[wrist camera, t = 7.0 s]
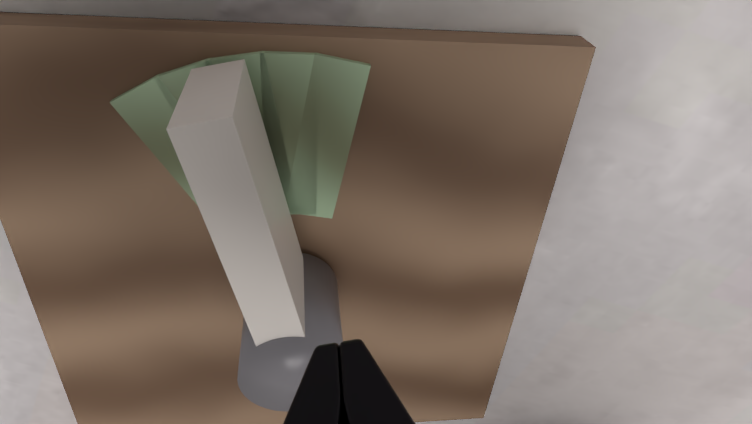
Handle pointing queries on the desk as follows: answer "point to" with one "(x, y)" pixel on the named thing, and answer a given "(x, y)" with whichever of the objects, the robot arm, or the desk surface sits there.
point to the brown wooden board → (302, 192)
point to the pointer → (253, 233)
